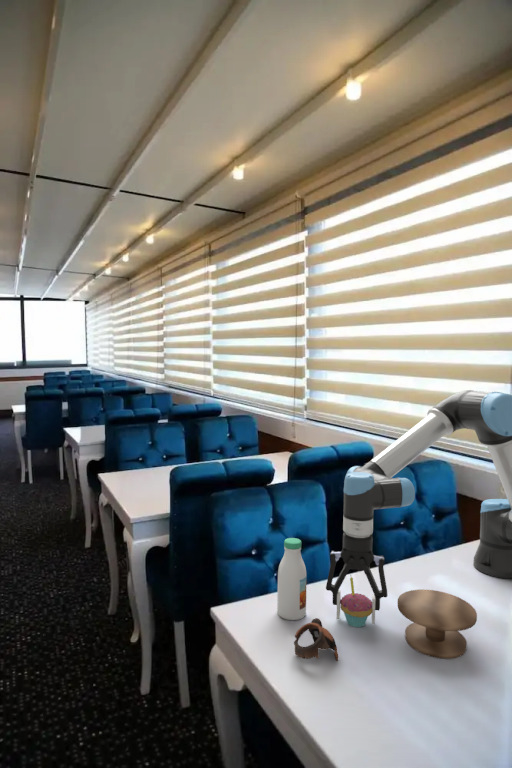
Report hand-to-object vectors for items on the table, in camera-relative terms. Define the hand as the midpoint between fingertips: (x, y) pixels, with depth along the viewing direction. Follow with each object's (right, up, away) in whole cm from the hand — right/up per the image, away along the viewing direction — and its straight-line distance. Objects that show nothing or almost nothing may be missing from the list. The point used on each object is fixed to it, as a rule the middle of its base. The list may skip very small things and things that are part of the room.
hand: (355, 618), depth 125 cm
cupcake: (0, -1, 0) cm, 1 cm away
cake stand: (+18, -1, -8) cm, 20 cm away
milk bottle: (-16, -1, +4) cm, 17 cm away
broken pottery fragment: (-12, -2, -14) cm, 18 cm away
